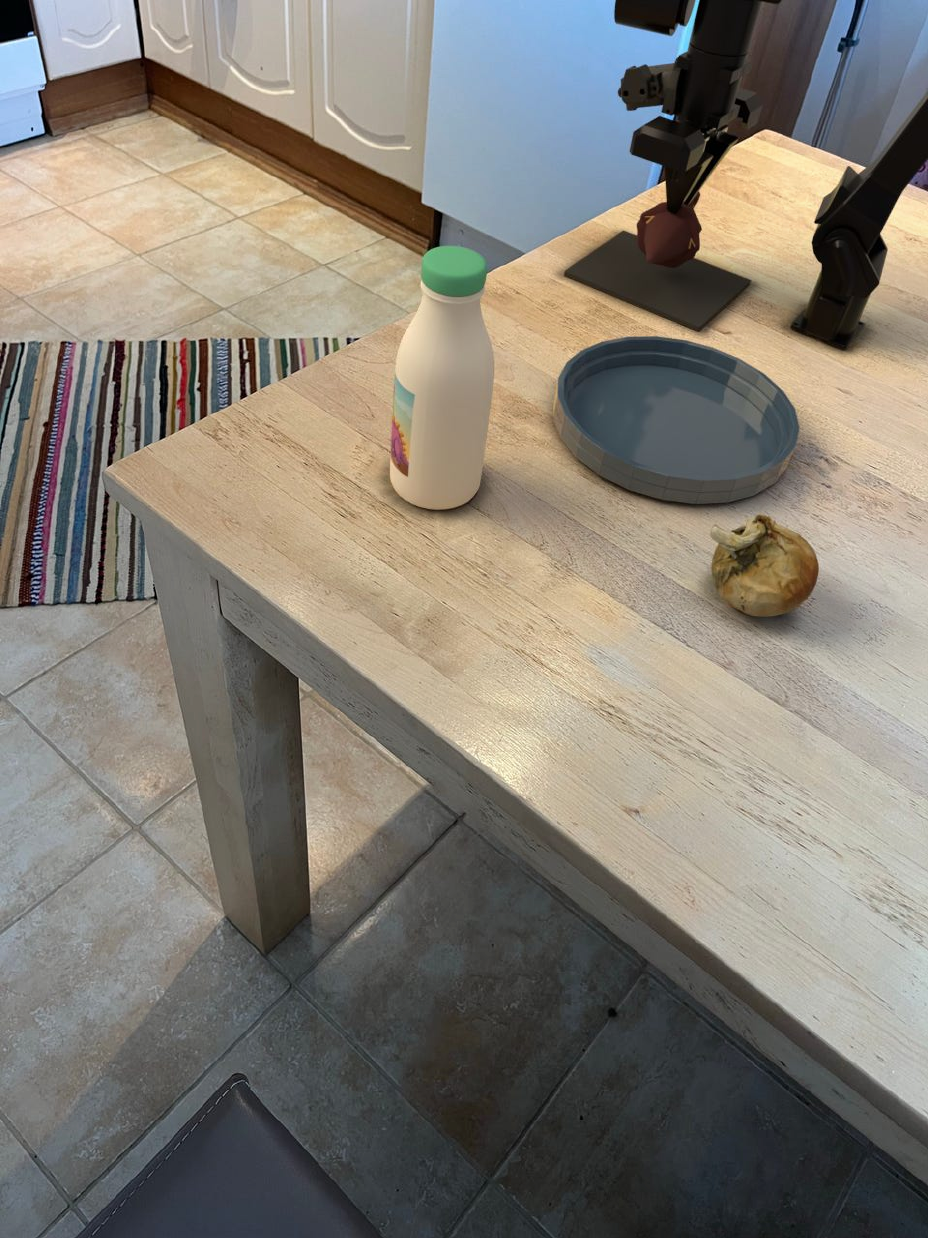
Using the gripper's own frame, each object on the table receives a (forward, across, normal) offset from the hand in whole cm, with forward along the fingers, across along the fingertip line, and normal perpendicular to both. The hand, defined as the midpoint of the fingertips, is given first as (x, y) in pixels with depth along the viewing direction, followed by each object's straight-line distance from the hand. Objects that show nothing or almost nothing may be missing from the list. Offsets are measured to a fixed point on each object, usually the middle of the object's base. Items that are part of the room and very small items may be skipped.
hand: (677, 207), depth 102 cm
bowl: (+8, +25, +14) cm, 30 cm away
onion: (+9, +41, +29) cm, 51 cm away
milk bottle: (+8, +46, +2) cm, 47 cm away
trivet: (+8, 0, 0) cm, 8 cm away
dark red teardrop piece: (+6, 0, 0) cm, 6 cm away
